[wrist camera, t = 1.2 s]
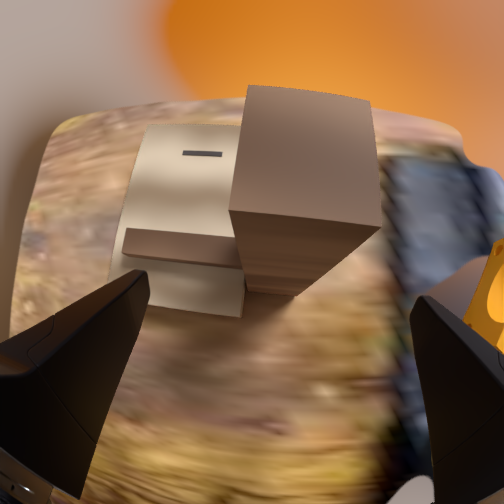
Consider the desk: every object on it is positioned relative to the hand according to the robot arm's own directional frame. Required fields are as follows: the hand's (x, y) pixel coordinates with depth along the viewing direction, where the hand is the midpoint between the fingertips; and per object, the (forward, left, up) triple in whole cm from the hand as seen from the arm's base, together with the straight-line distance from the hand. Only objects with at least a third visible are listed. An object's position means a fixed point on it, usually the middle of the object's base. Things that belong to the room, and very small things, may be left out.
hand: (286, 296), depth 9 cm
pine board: (+4, +9, -13) cm, 17 cm away
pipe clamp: (+9, -19, -14) cm, 26 cm away
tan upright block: (+2, +5, -13) cm, 14 cm away
